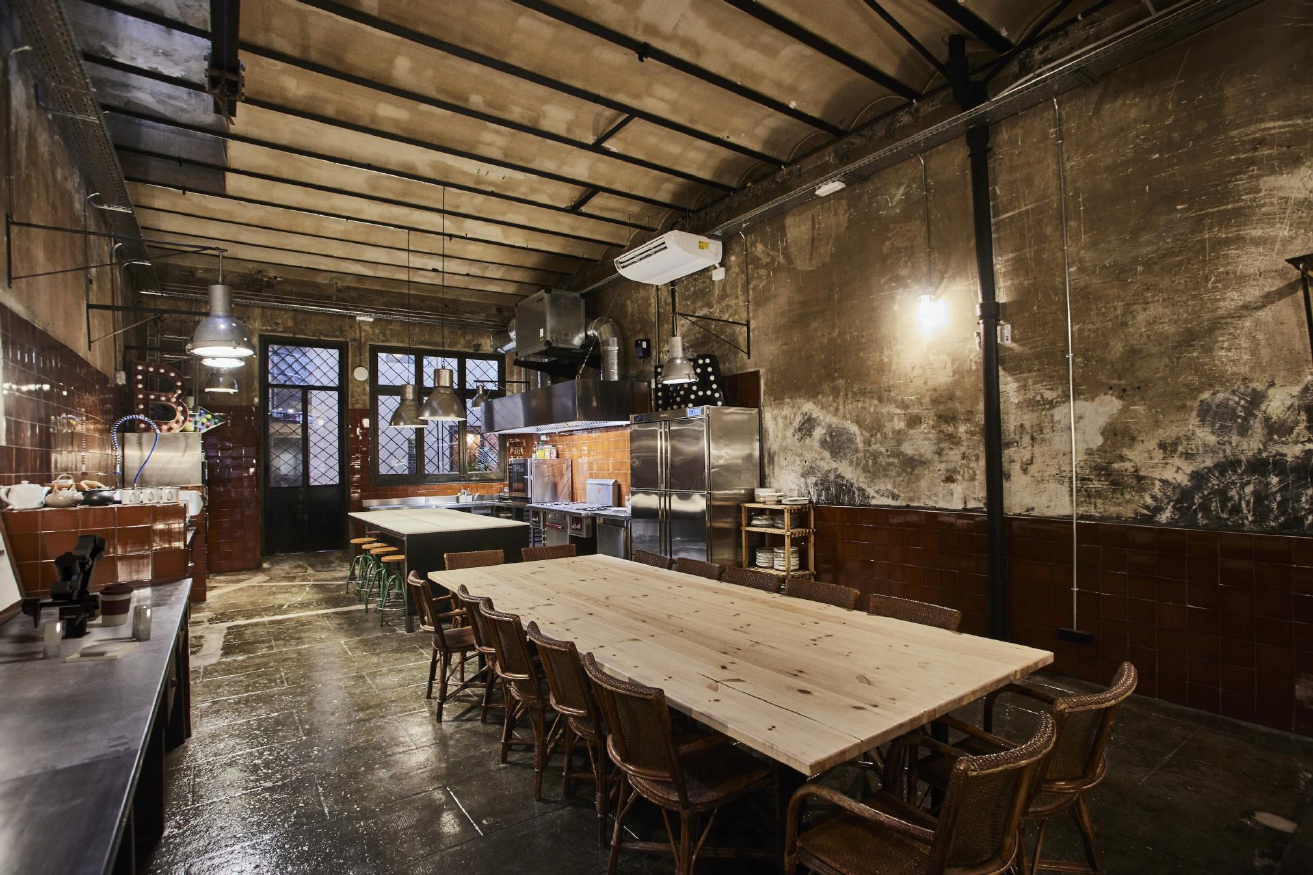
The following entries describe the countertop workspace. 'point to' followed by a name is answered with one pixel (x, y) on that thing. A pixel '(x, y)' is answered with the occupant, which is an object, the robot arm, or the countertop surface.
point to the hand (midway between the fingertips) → (55, 626)
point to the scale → (102, 651)
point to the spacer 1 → (52, 639)
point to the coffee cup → (115, 604)
